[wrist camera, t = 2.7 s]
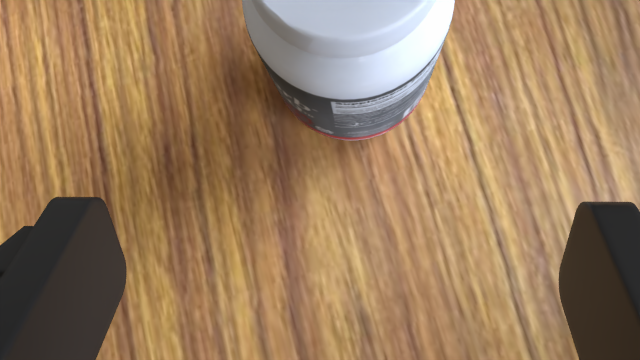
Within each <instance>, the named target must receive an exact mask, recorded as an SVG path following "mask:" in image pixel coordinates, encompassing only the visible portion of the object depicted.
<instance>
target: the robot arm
mask: <svg viewBox="0 0 640 360" xmlns="http://www.w3.org/2000/svg"><path fill="white" fill-rule="evenodd" d="M125 284H126V262H125V258H124V255H123V252H122V249H121V246H120V243H119V240H118V237H117V234H116V231H115V229H114V226H113V223H112V220H111V217H110V214H109V211H108V208H107V206H106V204H105V202H104V201H103V199H101V198H99V197H55V198H53V199H52V200H51V201H50V202H49V203H48V205H47V206H46V208H45V210H44V211H43V213H42V214H41V216H40V217H39V219H38V220H37V222H36V224H35V225H34V226H24V227H23V228H21V229H20V230H19V231H18V232H16V233H15V234H14V235H13V236H11V237H10V238H9V239H8V240H7V241H5V242H4V243H3V244H2V245H0V360H96V357H97V355H98V353H99V350H100V348H101V345H102V343H103V341H104V338H105V336H106V333H107V331H108V329H109V326H110V324H111V321H112V319H113V317H114V314H115V312H116V309H117V307H118V305H119V302H120V300H121V297H122V295H123V292H124V288H125ZM559 292H560V299H561V303H562V306H563V310H564V313H565V316H566V319H567V322H568V325H569V328H570V331H571V335H572V338H573V341H574V344H575V347H576V350H577V353H578V356H579V360H640V212H639V210H638V208H637V207H636V206H635V204H633V203H631V202H582V203H580V205H579V206H578V208H577V210H576V213H575V217H574V220H573V224H572V227H571V231H570V234H569V238H568V241H567V245H566V248H565V252H564V255H563V259H562V262H561V266H560V271H559Z"/></svg>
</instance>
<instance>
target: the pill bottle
mask: <svg viewBox="0 0 640 360" xmlns="http://www.w3.org/2000/svg"><path fill="white" fill-rule="evenodd" d="M454 2H455V0H242V5H243V13H244V18H245V23H246V27H247V31H248V34H249V36H250V38H251V41H252V43H253V44H254V46H255V48H256V50H257V52H258V54H259V56H260V58H261V60H262V62H263V63H264V65H265V67H266V69H267V71H268V72H269V74H270V76H271V78H272V80H273V81H274V83H275V85H276V87H277V89H278V91H279V93H280V94H281V96H282V98H283V100H284V102H285V103H286V105H287V106H288V108H289V109H290V110H291V112H292V113H293V114H294V115H295V116H296V117H297V118H298V119H299V120H300V121H301V122H302V123H304V124H305V125H306V126H308V127H309V128H311V129H312V130H314V131H316V132H318V133H320V134H322V135H325V136H328V137H331V138H335V139H341V140H363V139H369V138H372V137H376V136H379V135H381V134H384V133H386V132H388V131H390V130H391V129H393V128H395V127H396V126H398V125H399V124H400V123H402V122H403V121H404V120H405V119H406V118H407V117H408V116H409V115H410V114H411V113H412V112H413V110H414V109H415V108H416V106H417V105H418V103H419V102H420V100H421V98H422V96H423V94H424V92H425V90H426V88H427V85H428V82H429V80H430V77H431V75H432V72H433V69H434V66H435V64H436V61H437V59H438V56H439V54H440V51H441V48H442V46H443V43H444V41H445V38H446V36H447V33H448V30H449V27H450V24H451V20H452V15H453V9H454Z"/></svg>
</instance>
